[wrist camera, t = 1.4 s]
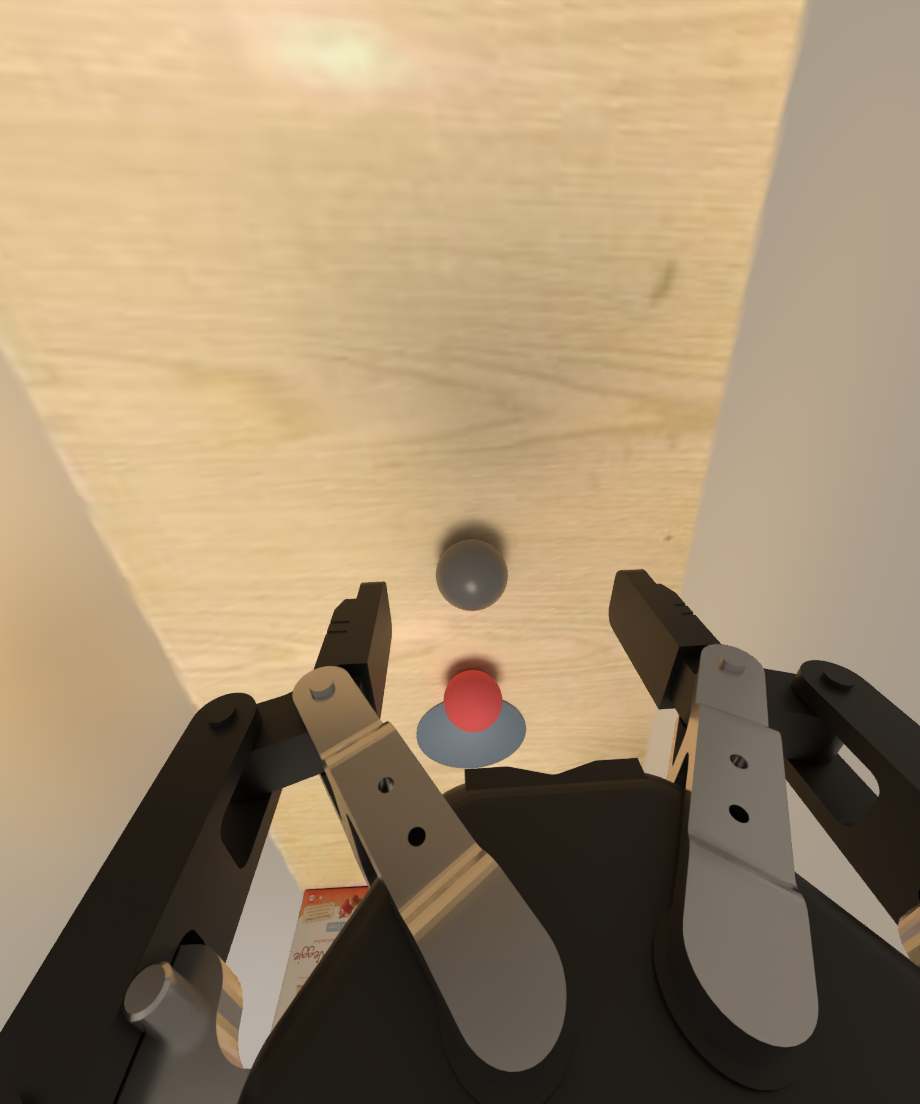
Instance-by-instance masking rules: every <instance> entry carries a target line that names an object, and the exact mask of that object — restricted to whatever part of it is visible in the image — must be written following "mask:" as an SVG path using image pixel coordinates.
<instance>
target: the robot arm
mask: <svg viewBox="0 0 920 1104" xmlns="http://www.w3.org/2000/svg"><path fill="white" fill-rule="evenodd" d="M609 621H610V625H611V627H612V629H613V631H614V633H615V634H616V636H617V638H618V639H619V641H620V643H621V645H622V646H623V648H624V650H625V652H626V653H627V655H628V657H629V659H630V660H631V662H632V664H633V666H634V667H635V669H636V671H637V672H638V674H639V676H640V678H641V679H642V681H643V683H644V685H645V686H646V688H647V690H648V692H649V693H650V695H651V697H652V698H653V700H654V702H655V704H656V705H657V707H658V709H672V708H675V709H676V710H677V712H678V714H679V715H678V718H677V720H676V724H675V730H674V737H673V743H672V749H671V756H670V762H669V769H668V775H667V779H663V778H661V777H658V776H654V775H651V774H647V773H644V771H643V769H642V767H641V765H640V763H639V760H638V758H629V759H614V760H599V761H593V762H590V763H588V764H585V765H582V766H579V767H576V768H573V769H571V770H568V771H565V772H562V773H559V774H554V775H552V774H545V773H540V772H535V771H529V770H524V769H518V768H513V767H492V768H477V769H465V784H462V785H459V786H457V787H454V788H453V789H451V790H449V791H447V792H445V793H444V794H441V792H440V791H439V790H438V788H437V787H436V785H435V784H434V782H433V781H432V780H431V778H430V777H429V775H428V774H427V773H426V771H425V770H424V768H423V767H422V765H421V764H420V763H419V761H418V760H417V758H416V757H415V756H414V754H413V753H412V751H411V750H410V748H409V747H408V746H407V744H406V743H405V741H404V740H403V738H402V737H401V736H400V734H399V733H398V731H397V730H396V729H395V727H394V726H393V725H392V724H391V723H390V722H388V721H387V722H385V723H382V721H381V720H380V717H381V710H382V703H383V695H384V688H385V681H386V674H387V667H388V660H389V653H390V645H391V638H392V623H391V615H390V608H389V601H388V593H387V587H386V583H385V582H367V583H361V585H360V588H359V592H358V595H357V599H345V600H344V601H343V602H342V603H341V604H340V605H339V606H338V607H337V608H336V609H335V610H334V613H333V616H332V619H331V624H329V627H328V630H327V634H326V636H325V639H324V642H323V644H322V647H321V650H320V653H319V656H318V659H317V661H316V664H315V667H314V670H312V671H311V672H309V673H307V674H306V675H304V676H303V677H302V678H301V679H300V680H299V681H298V682H297V684H296V685H295V687H294V689H293V691H292V692H290V693H288V694H286V695H283V696H281V697H277V698H274V699H271V700H268V701H265V702H261V703H258V704H256V702H255V700H254V699H253V697H251V696H250V695H248V694H245V693H231V694H226V695H223V696H220V697H218V698H216V699H214V700H212V701H211V702H209V703H207V704H206V705H205V706H203V707H202V708H201V709H200V710H199V711H198V712H197V713H196V714H195V716H194V717H193V718H192V720H191V722H190V723H189V725H188V727H187V728H186V730H185V732H184V733H183V735H182V736H181V738H180V740H179V741H178V743H177V745H176V746H175V748H174V750H173V751H172V753H171V754H170V756H169V758H168V759H167V761H166V763H165V764H164V766H163V767H162V769H161V771H160V772H159V774H158V776H157V777H156V779H155V781H154V782H153V784H152V786H151V787H150V789H149V790H148V792H147V794H146V795H145V797H144V799H143V800H142V802H141V803H140V805H139V807H138V808H137V810H136V812H135V813H134V815H133V816H132V818H131V820H130V821H129V823H128V825H127V826H126V828H125V830H124V831H123V833H122V834H121V836H120V838H119V839H118V841H117V843H116V844H115V846H114V848H113V849H112V851H111V852H110V854H109V856H108V857H107V859H106V861H105V862H104V864H103V865H102V867H101V869H100V870H99V872H98V874H97V875H96V877H95V879H94V881H93V882H92V883H91V885H90V887H89V889H88V890H87V892H86V893H85V895H84V897H83V898H82V900H81V902H80V903H79V905H78V906H77V908H76V910H75V911H74V913H73V915H72V916H71V918H70V919H69V921H68V923H67V925H66V926H65V928H64V929H63V931H62V932H61V934H60V936H59V937H58V939H57V941H56V942H55V944H54V946H53V947H52V949H51V950H50V952H49V954H48V955H47V957H46V959H45V960H44V962H43V964H42V965H41V967H40V968H39V970H38V972H37V973H36V975H35V977H34V978H33V980H32V982H31V983H30V985H29V986H28V988H27V990H26V991H25V993H24V995H23V996H22V998H21V1000H20V1001H19V1003H18V1005H17V1006H16V1008H15V1009H14V1011H13V1013H12V1014H11V1016H10V1018H9V1019H8V1021H7V1022H6V1024H5V1026H4V1027H3V1029H2V1031H1V1032H0V1104H920V726H919V725H918V724H917V723H916V722H915V721H913V720H912V719H911V718H910V717H909V716H907V715H906V714H905V713H903V711H901V710H900V709H899V708H898V707H896V706H895V705H894V704H893V703H892V702H891V701H889V700H888V699H887V698H886V697H885V696H883V695H882V694H881V693H880V692H879V691H877V690H876V689H875V688H874V687H873V686H871V685H870V684H869V683H868V682H866V681H865V680H864V679H863V678H862V677H860V676H859V675H857V674H856V673H854V672H852V671H850V670H849V669H846V668H844V667H842V666H840V665H837V664H834V663H830V662H826V661H819V660H811V661H807V662H804V663H803V664H802V665H801V667H800V669H799V670H798V672H797V674H793V673H787V672H781V671H775V670H769V669H764V668H763V667H762V665H761V664H760V663H759V662H758V661H757V660H756V659H755V658H754V657H753V656H751V655H750V654H748V653H746V652H744V651H742V650H740V649H738V648H735V647H732V646H728V645H723V644H721V643H720V642H719V641H718V640H717V639H716V638H715V637H714V636H713V634H712V633H711V632H710V631H709V630H708V629H707V628H706V627H705V625H704V624H703V623H702V622H701V621H700V620H699V619H698V617H697V616H696V615H693V612H692V611H691V610H690V608H689V607H688V606H685V603H684V602H683V601H682V599H681V598H680V597H679V596H678V595H677V594H676V593H675V592H673V591H672V590H670V589H669V588H667V587H665V586H664V585H662V584H656V583H655V582H654V581H653V579H652V578H651V577H650V576H649V575H648V573H647V572H646V571H645V570H643V569H638V570H619V571H618V572H617V573H616V576H615V580H614V585H613V591H612V596H611V601H610V606H609ZM843 744H845V745H846V746H847V747H848V748H849V749H850V750H851V752H852V753H853V754H854V755H855V756H856V757H857V758H858V759H859V760H860V761H861V762H862V763H863V764H864V765H865V766H866V767H867V768H868V769H869V770H870V771H871V772H872V774H873V775H874V776H875V778H876V780H877V782H878V785H879V790H880V793H879V797H878V796H877V795H876V794H875V793H874V792H873V791H872V790H871V789H870V788H869V787H868V786H867V785H866V783H865V782H864V781H863V780H862V779H861V778H860V777H859V776H858V775H857V774H856V773H855V772H854V771H853V770H852V769H851V767H850V766H849V765H848V764H847V763H846V762H845V761H844V760H843V759H842V758H841V757H840V756H839V754H838V751H839V750H840V748H841V747H842V746H843ZM318 774H319V776H320V778H321V781H322V783H323V785H324V787H325V789H326V791H327V794H328V796H329V798H330V800H331V802H332V805H333V807H334V809H335V811H336V813H337V815H338V818H339V820H340V822H341V824H342V826H343V829H344V831H345V833H346V836H347V838H348V841H349V843H350V846H351V848H352V851H353V853H354V856H355V858H356V860H357V863H358V865H359V867H360V870H361V872H362V874H363V876H364V878H365V881H366V883H367V885H368V887H369V890H368V891H367V893H366V894H365V896H364V897H363V899H362V900H361V901H360V903H359V904H358V906H357V907H356V909H355V910H354V912H353V913H352V915H351V916H350V918H349V919H348V920H347V922H346V923H345V925H344V926H343V928H342V929H341V931H340V932H339V934H338V935H337V937H336V938H335V939H334V941H333V942H332V944H331V945H330V947H329V948H328V950H327V951H326V953H325V954H324V955H323V957H322V958H321V960H320V961H319V963H318V964H317V966H316V967H315V969H314V970H313V972H312V973H311V974H310V976H309V977H308V979H307V980H306V982H305V983H304V985H303V986H302V988H301V989H300V991H299V992H298V993H297V995H296V996H295V998H294V999H293V1001H292V1002H291V1004H290V1005H289V1007H288V1008H287V1010H286V1011H285V1012H284V1014H283V1015H282V1017H281V1018H280V1020H279V1021H278V1023H277V1024H276V1026H275V1027H274V1029H273V1030H272V1032H271V1033H270V1035H269V1036H268V1038H267V1040H266V1041H265V1043H264V1045H263V1046H262V1048H261V1050H260V1052H259V1054H258V1056H257V1057H256V1059H255V1062H254V1064H253V1066H252V1068H251V1069H244V1068H243V1066H242V1064H241V1060H240V1056H239V1049H238V1032H239V1025H240V1020H241V1014H242V1009H243V994H242V988H241V984H240V982H239V980H238V978H237V977H236V975H235V974H234V973H233V972H232V971H231V970H230V968H229V967H228V966H227V965H226V964H225V963H226V960H227V956H228V953H229V951H230V947H231V944H232V941H233V938H234V935H235V932H236V929H237V926H238V923H239V920H240V917H241V914H242V911H243V907H244V904H245V902H246V898H247V895H248V892H249V889H250V886H251V883H252V880H253V877H254V874H255V871H256V868H257V865H258V862H259V859H260V855H261V852H262V849H263V846H264V843H265V840H266V837H267V834H268V831H269V828H270V825H271V822H272V819H273V816H274V813H275V810H276V807H277V804H278V801H279V797H280V794H281V791H282V788H284V787H286V786H289V785H292V784H294V783H297V782H300V781H302V780H305V779H307V778H310V777H313V776H315V775H318ZM785 779H786V780H787V781H788V783H789V784H790V785H791V787H792V788H793V789H794V790H795V792H796V793H797V794H798V796H799V797H800V798H801V799H802V801H803V802H804V804H805V805H806V806H807V807H808V808H809V810H810V811H811V813H812V814H813V815H814V817H815V818H816V819H817V821H818V822H819V823H820V824H821V826H822V827H823V828H824V830H825V831H826V832H827V834H828V835H829V836H830V838H831V839H832V840H833V841H834V842H835V844H836V845H837V846H838V848H839V849H840V850H841V852H842V853H843V855H844V856H845V857H846V858H847V860H848V861H849V862H850V864H851V865H852V866H853V867H854V869H855V870H856V872H857V873H858V874H859V875H860V877H861V878H862V879H863V880H864V882H865V883H866V884H867V886H868V887H869V888H870V890H871V891H872V893H873V894H874V895H875V896H876V898H877V899H878V900H879V902H880V903H881V904H882V906H883V907H884V908H885V909H886V911H887V912H888V913H889V915H890V916H891V917H892V919H893V920H894V921H895V923H896V924H897V925H898V931H899V936H900V939H901V942H902V945H903V947H904V949H905V951H906V953H907V955H908V956H909V959H908V958H907V957H905V956H904V955H903V954H902V953H900V952H899V951H898V950H896V949H895V948H894V947H893V946H891V945H890V944H889V943H887V942H886V941H885V940H883V939H882V938H881V937H879V936H878V935H877V934H875V933H874V932H873V931H872V930H870V929H869V928H868V927H866V926H865V925H864V924H862V923H861V922H860V921H858V920H857V919H856V918H855V917H853V916H852V915H851V914H849V913H848V912H847V911H845V910H844V909H843V908H841V907H840V906H839V905H838V904H836V903H835V902H834V901H832V900H831V899H830V898H828V897H827V896H826V895H825V894H823V893H822V892H821V891H819V890H818V889H817V888H815V887H814V886H813V885H811V884H810V883H809V882H808V881H806V880H805V879H804V878H802V877H801V876H800V875H798V874H797V873H796V872H795V871H794V864H793V863H794V862H793V852H792V842H791V832H790V822H789V811H788V801H787V791H786V780H785Z"/></svg>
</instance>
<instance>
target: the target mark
mask: <svg viewBox="0 0 920 1104" xmlns="http://www.w3.org/2000/svg"><path fill="white" fill-rule="evenodd" d="M525 733H526V726H525V722H524V719H523V717H522V715H521V714H520V712H519V711H518V710H517V709H516V708H515V707H513V706H512V705H511V704H509V703H507V702H505V701H503V700H502V709H501V712H500V715H499V717H498V718H497V720H496V721H495V723H494V724H493V725H492V726H490V727H489V728H487V729H485V730H483V731H480V732H466V731H463V730H461V729H459V728H458V727H456V726H455V725H454V724H453V723H452V722H451V721H450V720H449V718H448V716H447V714H446V712H445V708H444V702H442V703H440V704H438V705H437V706H435V707H434V708H432V709H431V710H429V711H428V712H427V713H426V714H425V715H424V717H423V718H422V719H421V721H420V723H419V725H418V728H417V742H418V745H419V747H420V748H421V750H422V751H423V752H424V754H425V755H427V756H428V757H429V758H430V759H432V760H434V761H436V762H438V763H440V764H443V765H446V766H450V767H456V768H478V767H484V766H488V765H492V764H494V763H497V762H499V761H501V760H504V759H505V758H507V757H509V756H510V755H511V754H513V753H514V752H515V751H516V750H517V749H518V748H519V746H520V745H521V744H522V742H523V740H524V737H525Z"/></svg>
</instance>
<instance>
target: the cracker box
mask: <svg viewBox="0 0 920 1104" xmlns="http://www.w3.org/2000/svg"><path fill="white" fill-rule="evenodd" d="M368 890H369V887H361V888H341V889H321V890H306V891H305V893H304V897H303V902H302V905H301V909H300V913H299V917H298V921H297V926H296V930H295V934H294V938H293V942H292V947H291V951H290V955H289V959H288V963H287V967H286V971H285V976H284V979H283V984H282V988H281V992H280V996H279V1000H278V1004H277V1009H276V1012H275V1017H274V1021H273V1025H272V1029H271V1032H272V1030H273V1029H274V1027H275V1026H276V1024H277V1023H278V1021H279V1020H280V1018H281V1017H282V1015H283V1014H284V1012H285V1011H286V1010H287V1008H288V1007H289V1005H290V1004H291V1002H292V1001H293V999H294V998H295V996H296V995H297V993H298V992H299V991H300V989H301V988H302V986H303V985H304V983H305V982H306V980H307V979H308V977H309V976H310V974H311V973H312V972H313V970H314V969H315V967H316V966H317V964H318V963H319V961H320V960H321V958H322V957H323V955H324V954H325V953H326V951H327V950H328V948H329V947H330V945H331V944H332V942H333V941H334V939H335V938H336V937H337V935H338V934H339V932H340V931H341V929H342V928H343V926H344V925H345V923H346V922H347V920H348V919H349V918H350V916H351V915H352V913H353V912H354V910H355V909H356V907H357V906H358V904H359V903H360V901H361V900H362V899H363V897H364V896H365V894H366V893H367V891H368Z"/></svg>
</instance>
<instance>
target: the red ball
mask: <svg viewBox="0 0 920 1104" xmlns="http://www.w3.org/2000/svg"><path fill="white" fill-rule="evenodd" d="M444 708H445V712H446V714H447V716H448V718H449V720H450V721H451V722H452V723H453V724H454V725H455V726H456V727H458V728H459V729H461V730H463V731H466V732H480V731H483V730H485V729H487V728H489V727H490V726H492V725H493V724H494V723H495V721H496V720H497V718H498V717H499V715H500V712H501V709H502V695H501V691H500V688H499V686H498V684H497V683H496V681H495V680H494V679H493V678H492V677H491V676H489V675H488V674H486V673H484V672H482V671H478V670H467V671H463V672H461V673H459V674H457V675H456V676H455V677H454V678H453V679H452V680H451V681H450V682H449V684H448V685H447V688H446V690H445V694H444Z"/></svg>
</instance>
